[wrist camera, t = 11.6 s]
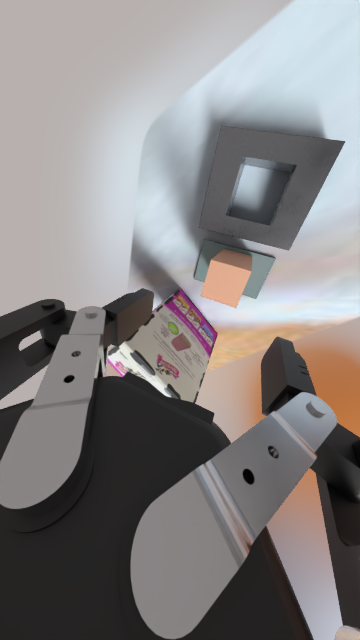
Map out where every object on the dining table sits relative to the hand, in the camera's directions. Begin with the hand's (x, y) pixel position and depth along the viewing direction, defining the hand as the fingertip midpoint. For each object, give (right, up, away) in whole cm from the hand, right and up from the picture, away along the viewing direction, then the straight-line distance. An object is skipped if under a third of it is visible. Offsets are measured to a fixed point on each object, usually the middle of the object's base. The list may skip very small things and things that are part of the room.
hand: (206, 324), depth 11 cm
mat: (+6, +8, +15) cm, 18 cm away
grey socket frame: (+8, +15, +10) cm, 20 cm away
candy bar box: (0, +1, +21) cm, 21 cm away
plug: (+6, +8, +14) cm, 17 cm away
